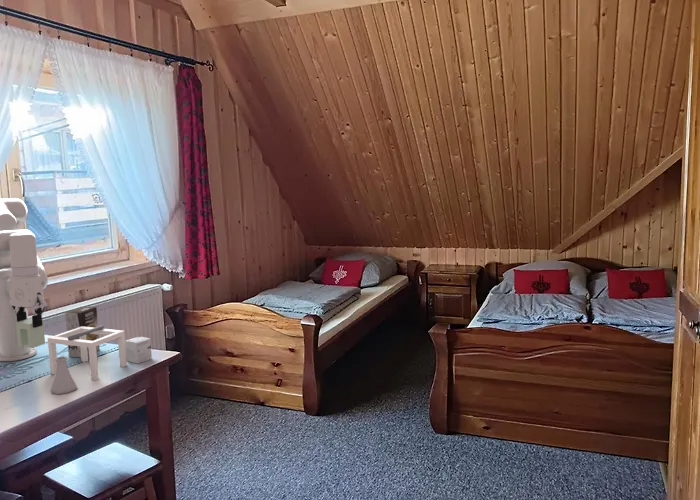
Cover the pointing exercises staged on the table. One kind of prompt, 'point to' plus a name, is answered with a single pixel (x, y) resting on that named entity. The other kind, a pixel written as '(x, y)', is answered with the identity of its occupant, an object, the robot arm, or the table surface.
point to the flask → (62, 378)
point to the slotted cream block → (29, 333)
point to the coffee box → (85, 319)
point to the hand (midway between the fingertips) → (29, 325)
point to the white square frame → (85, 343)
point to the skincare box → (138, 349)
